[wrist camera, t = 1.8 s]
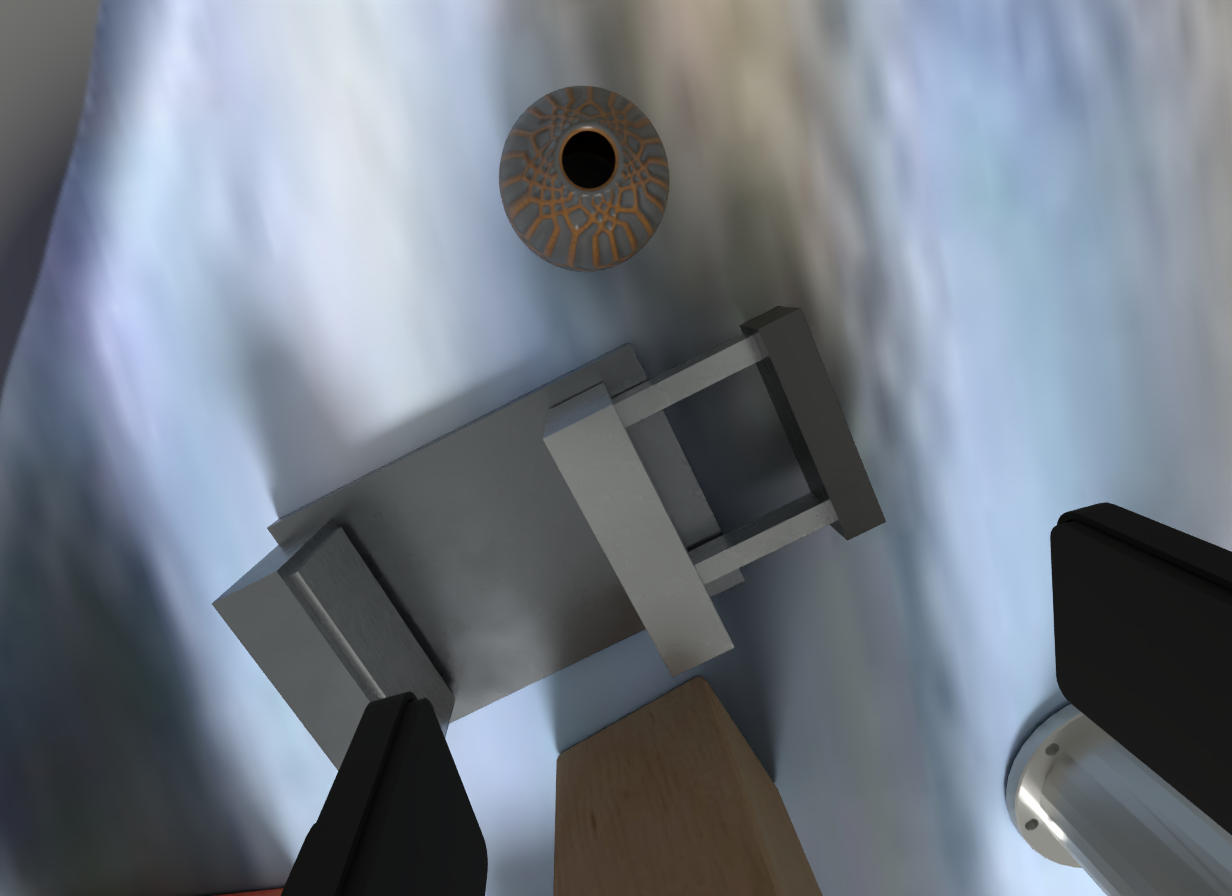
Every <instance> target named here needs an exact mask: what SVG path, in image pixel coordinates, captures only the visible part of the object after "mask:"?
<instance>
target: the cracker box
mask: <svg viewBox="0 0 1232 896" xmlns="http://www.w3.org/2000/svg"><path fill="white" fill-rule="evenodd" d="M283 889H284V888H278V889H270V890H261V891H251V892H242V893H233V894H224V895H215V896H281V893H282V891H283Z"/></svg>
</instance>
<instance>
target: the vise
mask: <svg viewBox="0 0 1232 896" xmlns="http://www.w3.org/2000/svg"><path fill="white" fill-rule="evenodd" d="M647 381H648V378H647V376H646V374H645V372H644V370H643V368H642V365H641V363H640V361H639V359H638V357H637V355H636V353H635V351H634V349H633V347H632V345H631V343H629V342H628V343H626V344H624V345H622V346H620V347H618V348H616V349H614V350H612V351H610V352H608V353H606V354H604V355H602V356H600V357H598V358H596V359H594V360H592V361H590V362H588V363H586V364H584V365H582V366H580V367H579V368H577V369H575V370H573V371H571V372H569V373H567V374H565V375H563V376H561V377H559V378H557V379H555V380H553V381H551V382H549V383H547V384H545V385H543V386H541V387H539V388H537V389H535V390H533V391H531V392H529V393H527V394H525V395H523V396H521V397H519V398H517V399H515V400H513V401H511V402H509V403H507V404H505V405H503V406H501V407H499V408H497V409H495V410H493V411H492V412H490V413H488V414H486V415H484V416H482V417H480V418H478V419H476V420H474V421H472V422H470V423H468V424H466V425H464V426H462V427H460V428H458V429H456V430H454V431H452V432H450V433H448V434H446V435H444V436H442V437H440V438H438V439H436V440H434V441H432V442H430V443H428V444H426V445H424V446H422V447H420V448H418V449H416V450H414V451H412V452H410V453H408V454H407V455H405V456H403V457H401V458H399V459H397V460H395V461H393V462H391V463H389V464H387V465H385V466H383V467H381V468H379V469H377V470H375V471H373V472H371V473H369V474H367V475H365V476H363V477H361V478H359V479H357V480H355V481H353V482H351V483H349V484H347V485H345V486H343V487H341V488H339V489H337V490H335V491H333V492H331V493H329V494H327V495H325V496H323V497H321V498H320V499H318V500H316V501H314V502H312V503H310V504H308V505H306V506H304V507H302V508H300V509H298V510H296V511H294V512H292V513H290V514H288V515H286V516H284V517H282V518H280V519H278V520H277V521H275V522H274V523H273V524H272V525H270V526H269V527H268V528H267V529H268V530H269V532H270V533H271V534H272V536H273V537H274V539H275V540H276V542H277V543H278V544H279V545H278V546H277V547H276V548H275V549H273V550H272V551H271V552H270V553H269V554H268V555H267V556H266V557H264V558H263V559H262V560H261V561H260V562H259V563H258V564H256V565H255V566H254V567H253V568H252V569H251V570H250V571H248V572H247V573H246V574H245V575H244V576H243V577H242V578H240V579H239V580H238V581H237V582H236V583H235V584H234V585H232V586H231V587H230V588H229V589H228V590H227V591H226V592H224V593H223V594H222V595H221V596H220V597H219V598H218V599H216V600H215V601H214V602H213V603H212V605H213V606H214V607H215V609H216V610H217V611H218V613H219V614H220V615H221V617H222V618H223V619H224V621H225V622H226V623H227V625H228V626H229V627H230V629H231V630H232V631H233V633H234V634H235V635H236V636H237V638H238V639H239V640H240V642H241V643H242V644H243V646H244V647H245V648H246V650H247V651H248V652H249V654H250V655H251V656H252V658H253V659H254V660H255V662H256V663H257V664H258V666H259V667H260V668H261V669H262V671H263V672H264V673H265V675H266V676H267V677H268V679H269V680H270V681H271V683H272V684H273V685H274V687H275V688H276V689H277V691H278V692H279V693H280V695H281V696H282V697H283V699H284V700H285V701H286V702H287V704H288V705H289V706H290V708H291V709H292V710H293V712H294V713H295V714H296V716H297V717H298V718H299V720H300V721H301V722H302V724H303V725H304V726H305V728H306V729H307V730H308V732H309V733H310V734H311V735H312V737H313V738H314V739H315V741H316V742H317V743H318V745H319V746H320V747H321V749H322V750H323V751H324V753H325V754H326V755H327V757H328V758H329V759H330V761H331V762H332V763H333V765H334V766H335V767H336V768H337V770H338V771H339V769H340V766H341V764H342V762H343V759H344V757H345V755H346V752H347V750H348V748H349V745H350V743H351V741H352V738H353V736H354V734H355V731H356V729H357V727H358V724H359V722H360V720H361V717H362V715H363V713H364V710H365V708H366V707H367V705H368V703H370V702H372V701H375V700H379V699H382V698H386V697H390V696H393V695H397V694H401V693H404V692H408V691H410V692H413V693H414V694H415V696H416V697H417V699H418V700H419V699H422V698H427V699H428V700H429V701H430V702H431V704H432V706H433V709H434V711H435V714H436V717H437V719H438V722H439V724H440V727H441V729H442V732H443V735H444V737H445V736H446V733H447V729H448V725H449V723H451V722H454V721H456V720H458V719H460V718H462V717H464V716H466V715H468V714H470V713H472V712H474V711H476V710H478V709H480V708H483V707H485V706H487V705H489V704H491V703H493V702H495V701H497V700H499V699H501V698H503V697H505V696H507V695H509V694H512V693H514V692H516V691H518V690H520V689H522V688H524V687H526V686H528V685H530V684H532V683H534V682H536V681H538V680H541V679H543V678H545V677H547V676H549V675H551V674H553V673H555V672H557V671H559V670H561V669H563V668H565V667H567V666H569V665H572V664H574V663H576V662H578V661H580V660H582V659H584V658H586V657H588V656H590V655H592V654H594V653H596V652H598V651H601V650H603V649H605V648H607V647H609V646H611V645H613V644H615V643H617V642H619V641H621V640H623V639H625V638H627V637H630V636H632V635H634V634H636V633H638V632H640V631H642V630H644V629H646V628H645V626H644V624H643V622H642V620H641V619H640V617H639V615H638V613H637V611H636V609H635V608H634V606H633V604H632V602H631V600H630V598H629V597H628V595H627V593H626V591H625V589H624V587H623V586H622V584H621V582H620V580H619V578H618V576H617V575H616V573H615V571H614V569H613V567H612V565H611V564H610V562H609V560H608V558H607V556H606V554H605V553H604V551H603V549H602V547H601V545H600V543H599V541H598V540H597V538H596V536H595V534H594V532H593V530H592V529H591V527H590V525H589V523H588V521H587V519H586V518H585V516H584V514H583V512H582V510H581V508H580V507H579V505H578V503H577V501H576V499H575V497H574V496H573V494H572V492H571V490H570V488H569V486H568V485H567V483H566V481H565V479H564V477H563V475H562V474H561V472H560V470H559V468H558V466H557V464H556V462H555V461H554V459H553V457H552V455H551V453H550V451H549V450H548V448H547V446H546V444H545V442H544V440H543V435H544V429H545V423H546V418H547V412H548V410H550V409H552V408H554V407H556V406H558V405H559V404H561V403H563V402H565V401H567V400H569V399H571V398H573V397H575V396H577V395H579V394H581V393H583V392H585V391H587V390H589V389H591V388H593V387H595V386H597V385H599V384H601V383H603V382H604V384H605V386H606V388H607V390H608V392H609V394H610V396H611V398H612V399H613V398H615V397H617V396H619V395H621V394H623V393H625V392H627V391H629V390H631V389H633V388H635V387H637V386H639V385H641V384H643V383H645V382H647ZM626 428H627V430H628V432H629V434H630V436H631V438H632V440H633V442H634V444H635V446H636V448H637V450H638V452H639V454H640V456H641V458H642V460H643V462H644V464H645V466H646V468H647V470H648V472H649V474H650V476H651V478H652V480H653V482H654V484H655V486H656V488H657V490H658V492H659V494H660V496H661V498H662V500H663V502H664V504H665V506H666V508H667V510H668V512H669V514H670V516H671V518H672V520H673V522H674V524H675V526H676V528H677V530H678V532H679V534H680V536H681V538H682V540H683V542H684V544H685V546H686V548H687V550H688V552H689V551H691V550H693V549H696V548H698V547H700V546H702V545H704V544H706V543H708V542H710V541H712V540H714V539H716V538H718V537H720V536H722V535H723V534H722V532H721V530H720V527H719V525H718V523H717V521H716V519H715V517H714V515H713V513H712V511H711V509H710V507H709V505H708V503H707V500H706V498H705V496H704V494H703V492H702V490H701V488H700V486H699V484H698V482H697V480H696V478H695V476H694V473H693V471H692V469H691V467H690V465H689V463H688V461H687V459H686V457H685V455H684V453H683V451H682V449H681V446H680V444H679V442H678V440H677V438H676V436H675V434H674V432H673V430H672V428H671V426H670V424H669V422H668V419H667V417H666V415H665V413H664V411H663V409H662V410H660V411H658V412H656V413H654V414H652V415H650V416H648V417H646V418H644V419H642V420H640V421H638V422H636V423H634V424H632V425H630V426H628V427H626ZM743 581H745V579H744V577H743V575H742V573H741V571H740V569H739V568H738V569H736V570H734V571H732V572H730V573H727V574H725V575H723V576H721V577H719V578H717V579H715V580H713V581H711V582H709V583H707V584H705V585H706V588H707V590H708V592H709V594H710V596H711V597H712V596H714V595H717V594H719V593H721V592H723V591H725V590H727V589H729V588H731V587H733V586H735V585H737V584H739V583H741V582H743Z"/></svg>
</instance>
